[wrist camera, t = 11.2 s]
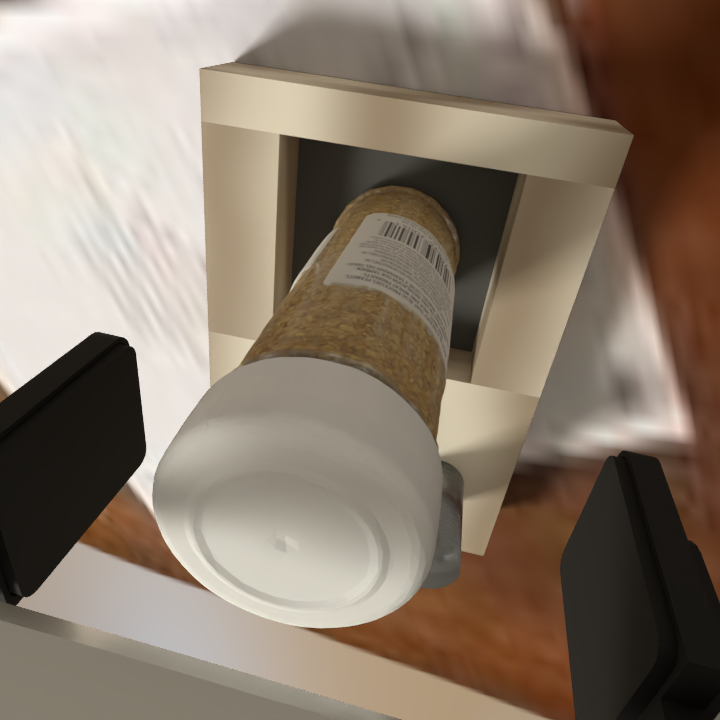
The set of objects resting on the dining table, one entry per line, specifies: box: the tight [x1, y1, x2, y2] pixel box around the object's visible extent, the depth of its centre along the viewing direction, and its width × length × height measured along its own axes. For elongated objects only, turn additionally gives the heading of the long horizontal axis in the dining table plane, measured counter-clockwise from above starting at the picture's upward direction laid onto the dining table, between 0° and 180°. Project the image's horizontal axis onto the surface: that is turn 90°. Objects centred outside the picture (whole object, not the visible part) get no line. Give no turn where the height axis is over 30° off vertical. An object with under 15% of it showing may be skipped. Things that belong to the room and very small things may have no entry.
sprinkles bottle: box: [152, 186, 460, 628], centre depth 14 cm, size 5×5×13 cm
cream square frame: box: [200, 62, 634, 589], centre depth 19 cm, size 12×17×6 cm
